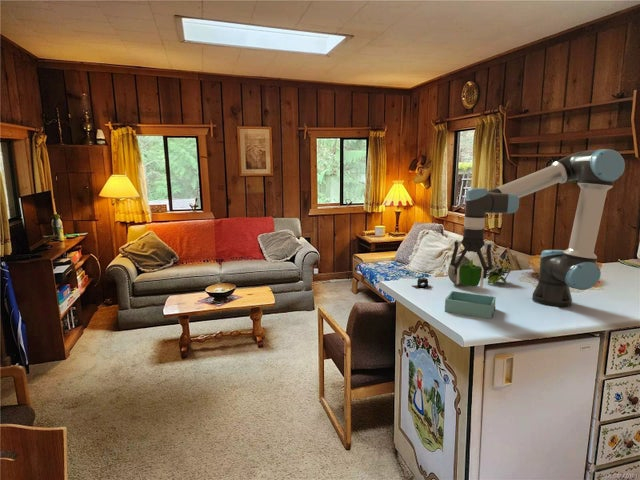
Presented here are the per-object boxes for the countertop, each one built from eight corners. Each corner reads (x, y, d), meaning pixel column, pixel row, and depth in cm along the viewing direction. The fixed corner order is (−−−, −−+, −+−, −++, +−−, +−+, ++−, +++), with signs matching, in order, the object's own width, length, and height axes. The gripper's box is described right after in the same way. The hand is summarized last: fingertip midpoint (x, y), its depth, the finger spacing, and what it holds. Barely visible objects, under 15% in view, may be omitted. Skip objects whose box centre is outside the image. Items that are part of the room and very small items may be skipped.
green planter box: (495, 308, 167) (496, 297, 166) (492, 319, 155) (493, 306, 155) (450, 302, 175) (450, 290, 174) (443, 311, 164) (444, 299, 163)
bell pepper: (476, 289, 158) (478, 264, 156) (455, 285, 163) (457, 260, 162) (484, 285, 164) (486, 260, 163) (463, 281, 170) (465, 257, 168)
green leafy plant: (492, 291, 214) (501, 271, 217) (510, 293, 204) (518, 272, 207) (478, 281, 210) (487, 260, 213) (495, 282, 200) (504, 261, 203)
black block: (429, 284, 208) (430, 276, 207) (437, 288, 201) (438, 279, 200) (407, 286, 204) (408, 277, 203) (414, 290, 197) (415, 281, 196)
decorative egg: (445, 281, 212) (446, 252, 209) (468, 282, 211) (470, 253, 208) (450, 287, 200) (452, 257, 198) (474, 288, 199) (477, 258, 197)
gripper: (504, 229, 159) (499, 286, 162) (448, 225, 168) (444, 279, 172) (502, 231, 152) (497, 290, 156) (444, 227, 162) (440, 283, 165)
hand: (469, 284), depth 164 cm, fingers closed on bell pepper, 8 cm apart
